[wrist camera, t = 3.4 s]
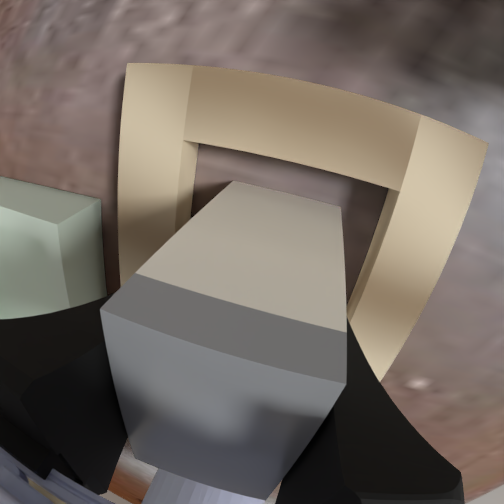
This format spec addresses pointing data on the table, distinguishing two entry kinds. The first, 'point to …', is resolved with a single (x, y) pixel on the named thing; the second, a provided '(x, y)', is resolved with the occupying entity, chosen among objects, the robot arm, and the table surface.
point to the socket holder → (307, 153)
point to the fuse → (233, 339)
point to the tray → (48, 249)
